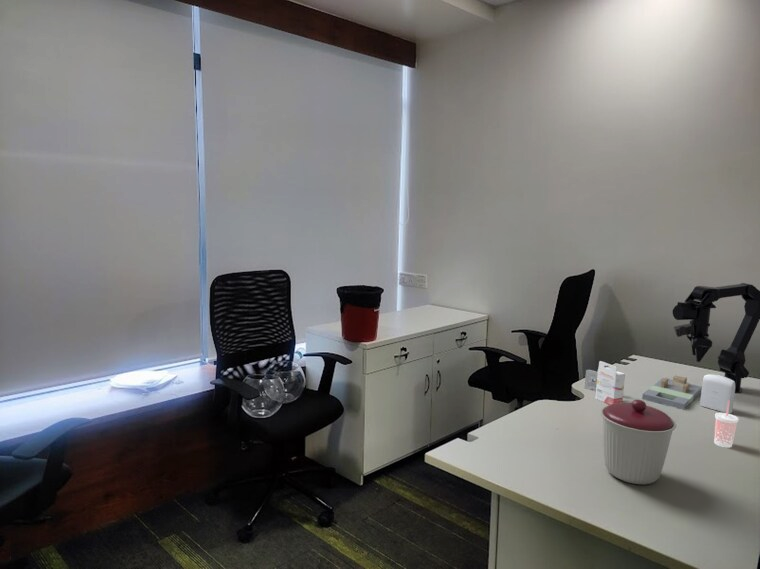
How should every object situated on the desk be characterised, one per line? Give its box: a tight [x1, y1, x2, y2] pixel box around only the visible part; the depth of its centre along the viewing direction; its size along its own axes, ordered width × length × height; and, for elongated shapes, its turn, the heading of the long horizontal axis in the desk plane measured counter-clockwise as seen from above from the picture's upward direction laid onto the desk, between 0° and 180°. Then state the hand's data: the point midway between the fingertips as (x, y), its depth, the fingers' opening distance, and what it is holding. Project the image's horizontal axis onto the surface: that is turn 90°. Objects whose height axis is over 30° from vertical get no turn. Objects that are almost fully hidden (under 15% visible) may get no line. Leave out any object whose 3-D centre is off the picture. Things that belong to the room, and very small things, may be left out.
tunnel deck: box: [641, 377, 702, 411], centre depth 204 cm, size 26×14×4 cm, turn 137°
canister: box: [600, 399, 677, 485], centre depth 142 cm, size 18×18×21 cm
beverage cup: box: [713, 401, 740, 449], centre depth 163 cm, size 6×6×14 cm
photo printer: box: [699, 374, 736, 414], centre depth 191 cm, size 10×4×12 cm, turn 39°
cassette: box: [584, 369, 598, 392], centre depth 206 cm, size 12×2×8 cm, turn 51°
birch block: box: [672, 374, 688, 387], centre depth 210 cm, size 4×4×3 cm
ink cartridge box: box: [594, 360, 626, 405], centre depth 195 cm, size 9×5×15 cm, turn 25°
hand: (696, 358), depth 208 cm, fingers open, 9 cm apart
